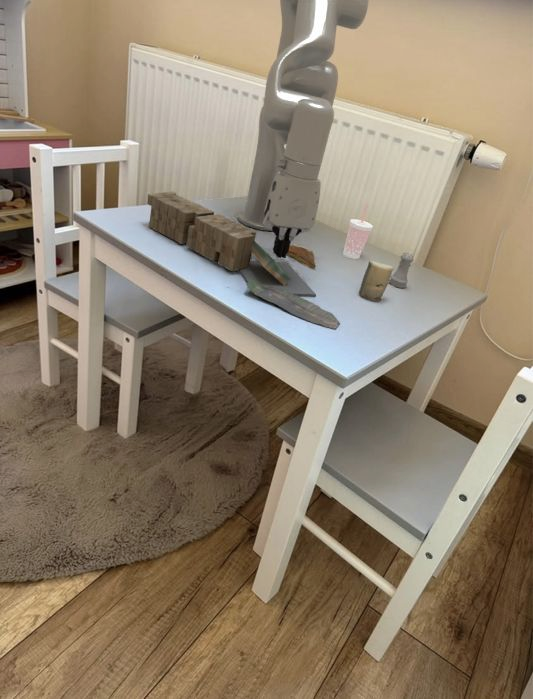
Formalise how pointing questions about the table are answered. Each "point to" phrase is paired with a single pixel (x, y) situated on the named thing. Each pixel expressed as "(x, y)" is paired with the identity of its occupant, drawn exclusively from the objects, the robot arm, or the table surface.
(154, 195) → the block tower
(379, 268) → the beige rounded chunk
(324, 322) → the mossy stone slab
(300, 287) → the mat
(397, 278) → the rook chess piece
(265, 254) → the plaque
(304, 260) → the shard
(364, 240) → the beverage cup
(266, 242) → the table surface
